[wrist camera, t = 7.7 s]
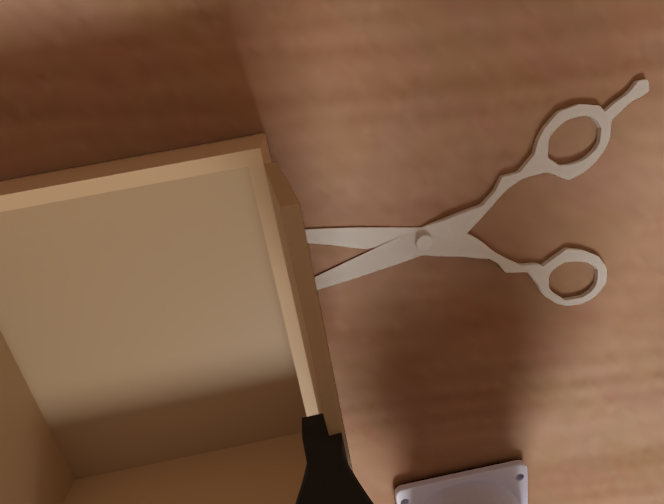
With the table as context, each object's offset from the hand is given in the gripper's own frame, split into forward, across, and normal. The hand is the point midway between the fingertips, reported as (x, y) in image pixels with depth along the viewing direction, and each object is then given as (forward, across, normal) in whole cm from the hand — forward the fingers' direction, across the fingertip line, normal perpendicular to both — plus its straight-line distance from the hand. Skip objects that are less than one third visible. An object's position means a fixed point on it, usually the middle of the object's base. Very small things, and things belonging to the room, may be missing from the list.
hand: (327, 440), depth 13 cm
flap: (+2, 0, 0) cm, 2 cm away
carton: (+10, +7, 0) cm, 12 cm away
